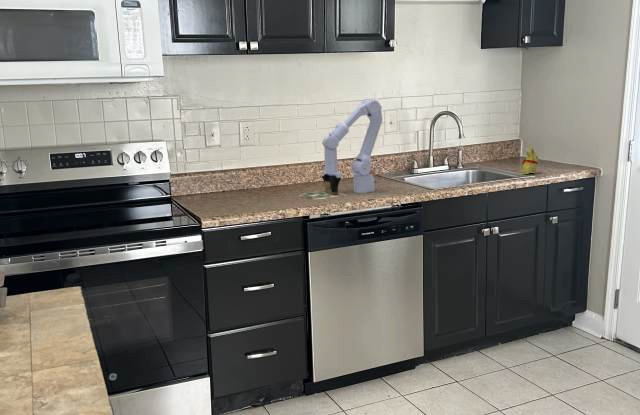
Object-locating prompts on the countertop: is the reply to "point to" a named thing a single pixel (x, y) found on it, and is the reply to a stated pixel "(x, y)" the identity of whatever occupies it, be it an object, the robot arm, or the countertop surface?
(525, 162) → the chocolate bunny
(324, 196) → the board
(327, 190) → the walnut block
